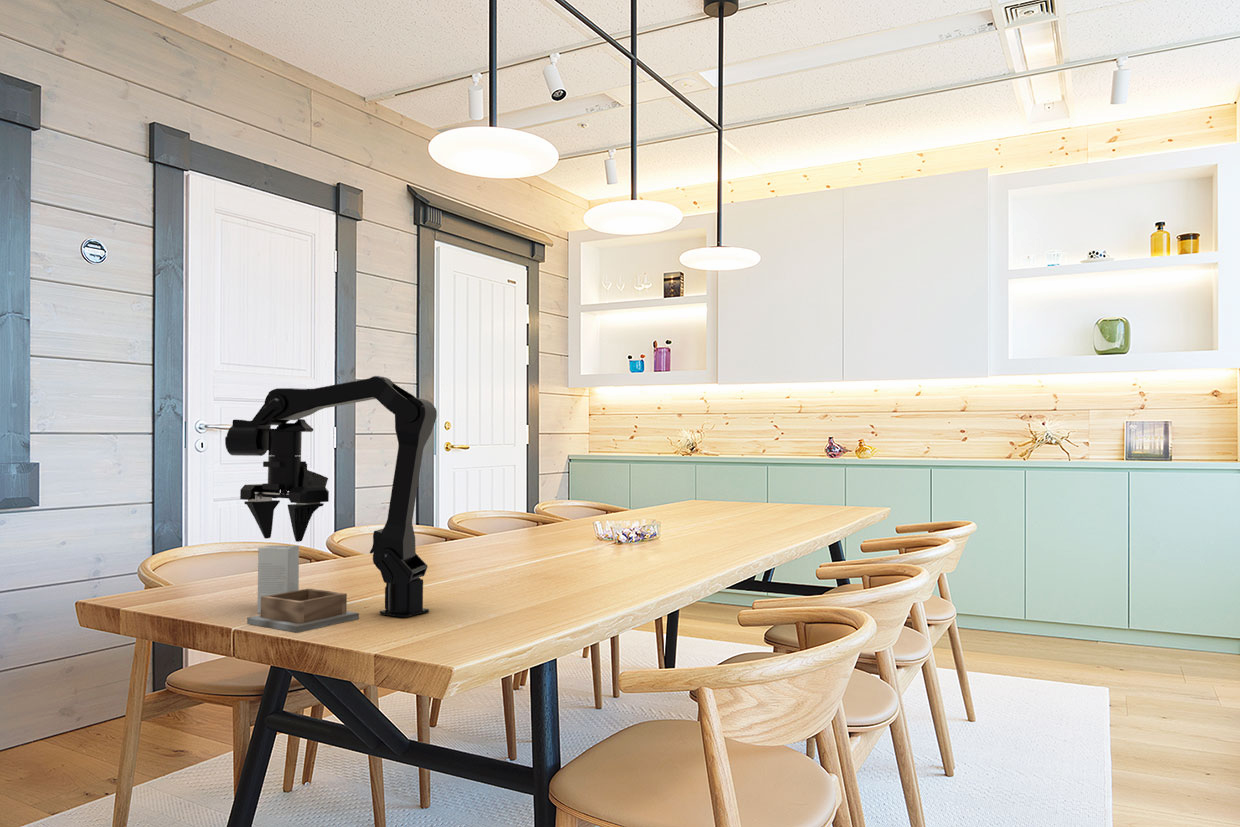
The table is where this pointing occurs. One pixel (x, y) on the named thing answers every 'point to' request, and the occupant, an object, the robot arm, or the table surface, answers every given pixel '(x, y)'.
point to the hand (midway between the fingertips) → (282, 539)
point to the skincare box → (277, 571)
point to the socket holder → (303, 610)
